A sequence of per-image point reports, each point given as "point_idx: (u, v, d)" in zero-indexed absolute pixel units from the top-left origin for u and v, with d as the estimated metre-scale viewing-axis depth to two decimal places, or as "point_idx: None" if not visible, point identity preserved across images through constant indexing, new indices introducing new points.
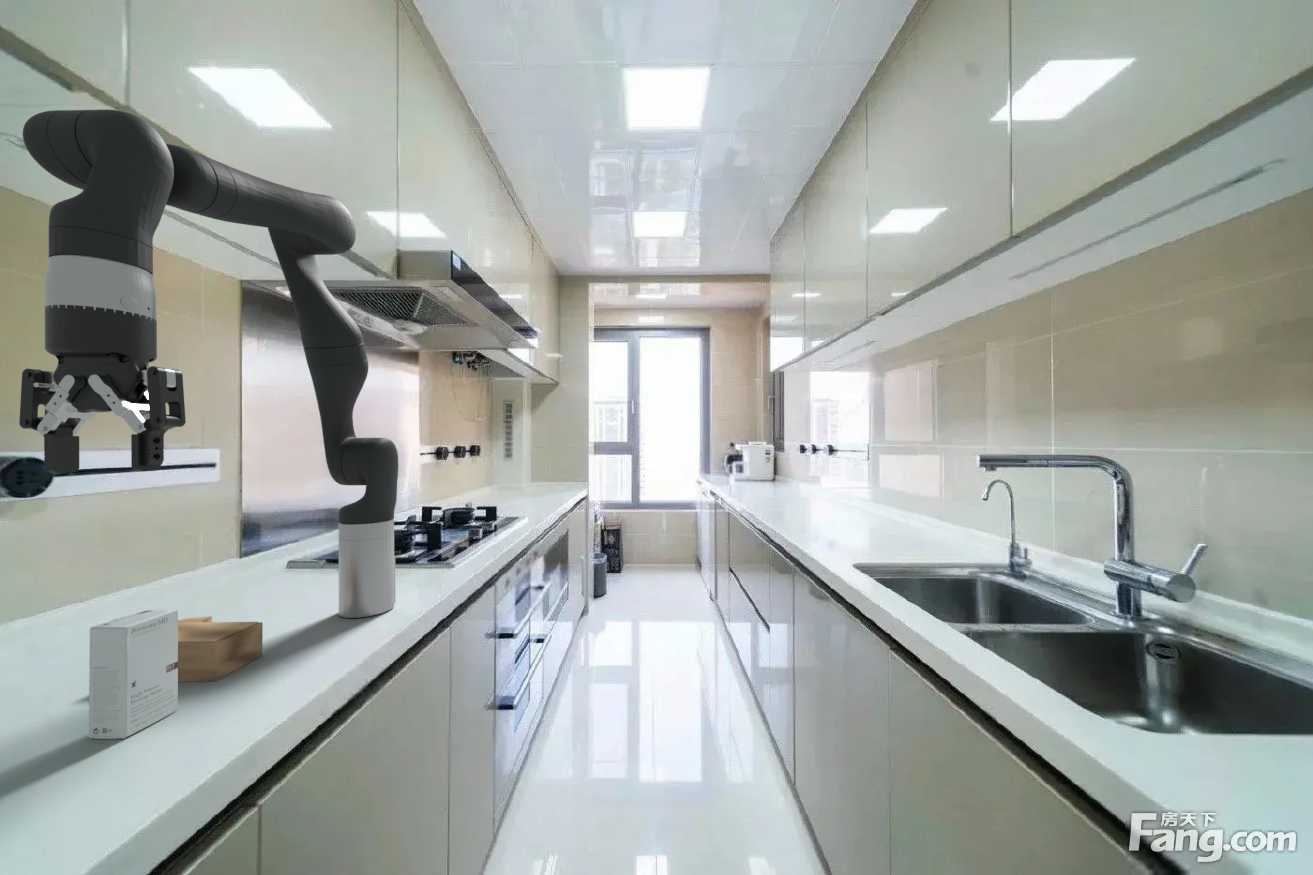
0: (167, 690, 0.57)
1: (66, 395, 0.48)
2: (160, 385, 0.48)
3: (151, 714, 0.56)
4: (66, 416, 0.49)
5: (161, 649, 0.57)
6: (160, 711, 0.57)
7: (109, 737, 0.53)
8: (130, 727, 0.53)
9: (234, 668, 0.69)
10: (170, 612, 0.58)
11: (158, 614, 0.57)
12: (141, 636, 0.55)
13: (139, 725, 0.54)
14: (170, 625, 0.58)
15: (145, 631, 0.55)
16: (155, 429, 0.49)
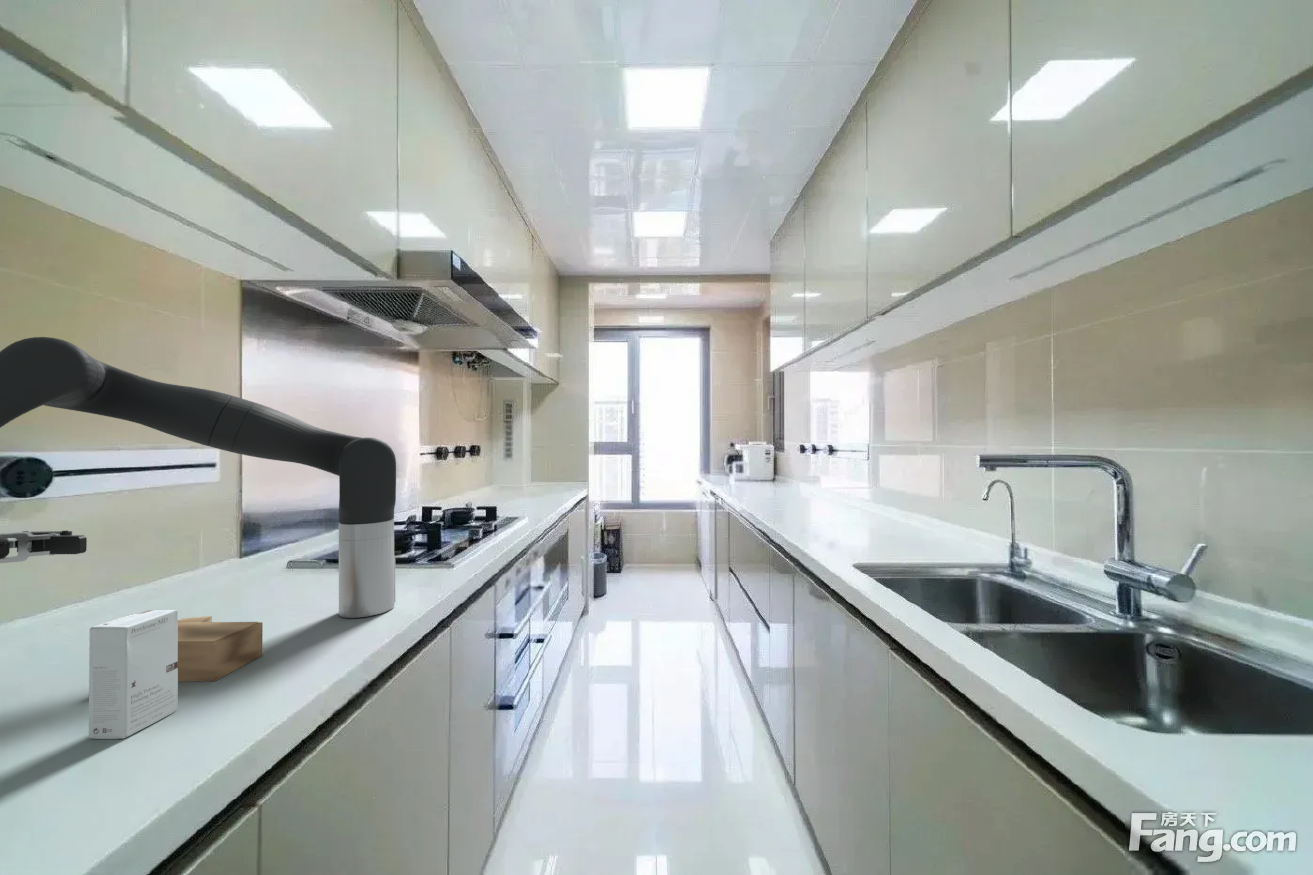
0: (167, 690, 0.57)
1: None
2: None
3: (151, 714, 0.56)
4: (25, 552, 0.59)
5: (161, 649, 0.57)
6: (160, 711, 0.57)
7: (109, 737, 0.53)
8: (130, 727, 0.53)
9: (234, 668, 0.69)
10: (169, 612, 0.58)
11: (158, 614, 0.57)
12: (141, 636, 0.55)
13: (139, 725, 0.54)
14: (170, 625, 0.58)
15: (145, 631, 0.55)
16: None
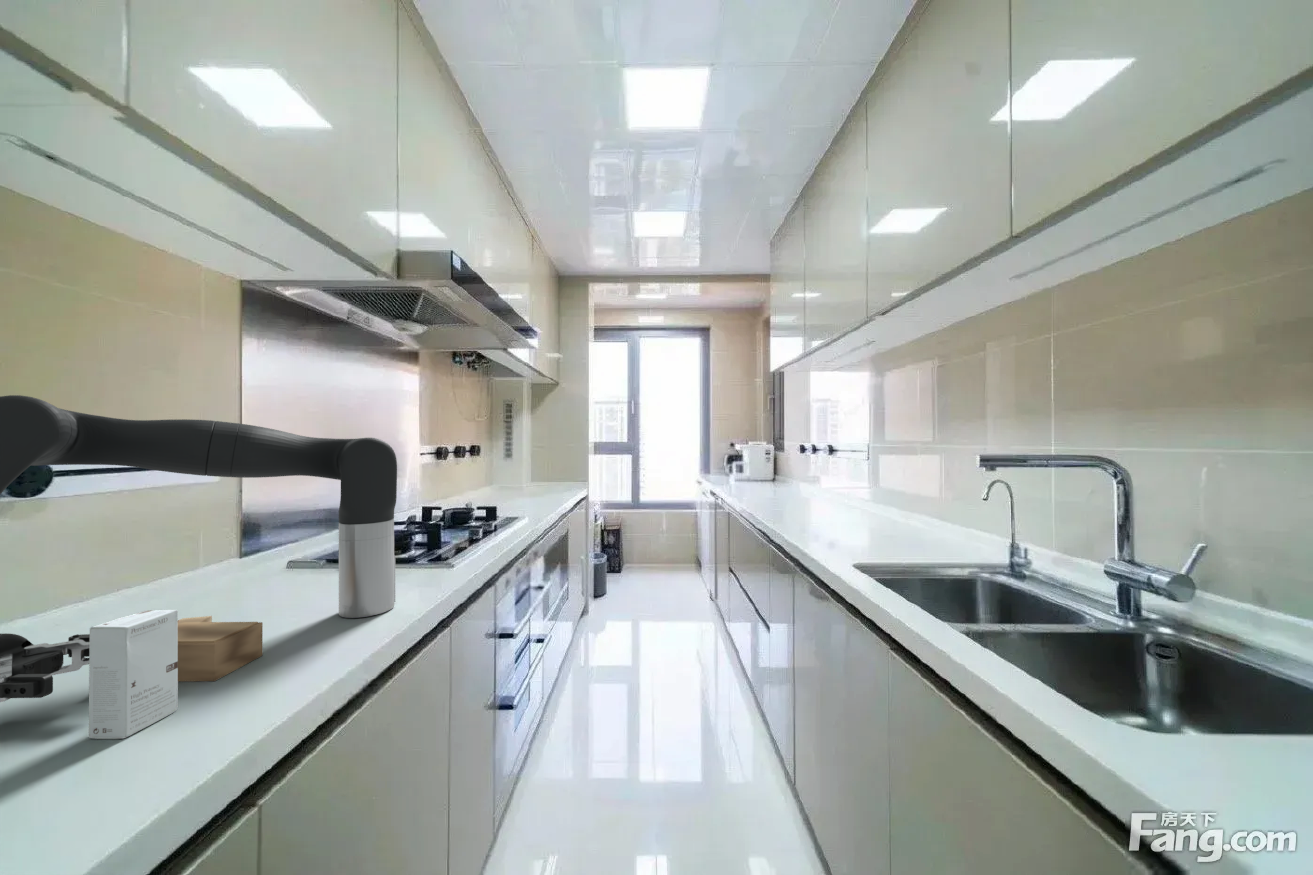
0: (167, 690, 0.57)
1: None
2: None
3: (151, 714, 0.56)
4: (78, 661, 0.59)
5: (161, 648, 0.57)
6: (160, 711, 0.57)
7: (109, 737, 0.53)
8: (130, 727, 0.53)
9: (234, 668, 0.69)
10: (169, 612, 0.58)
11: (157, 614, 0.57)
12: (141, 636, 0.55)
13: (139, 725, 0.54)
14: (170, 625, 0.58)
15: (145, 631, 0.55)
16: None
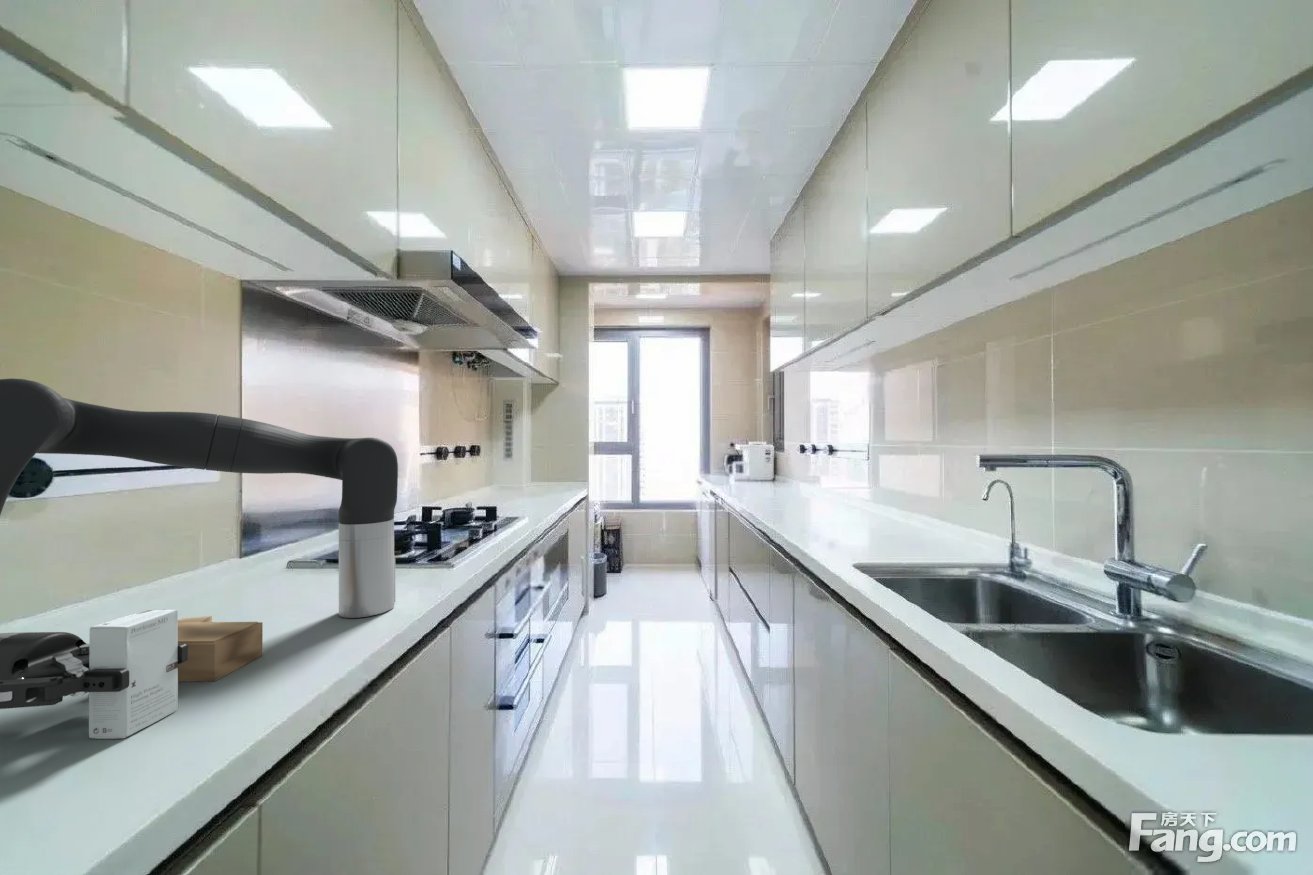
0: (167, 690, 0.57)
1: None
2: (8, 706, 0.49)
3: (151, 714, 0.56)
4: None
5: (161, 648, 0.57)
6: (160, 711, 0.57)
7: (109, 737, 0.53)
8: (130, 727, 0.53)
9: (234, 668, 0.69)
10: (169, 612, 0.58)
11: (157, 614, 0.57)
12: (141, 635, 0.55)
13: (139, 725, 0.54)
14: (170, 625, 0.58)
15: (145, 631, 0.55)
16: (70, 692, 0.51)
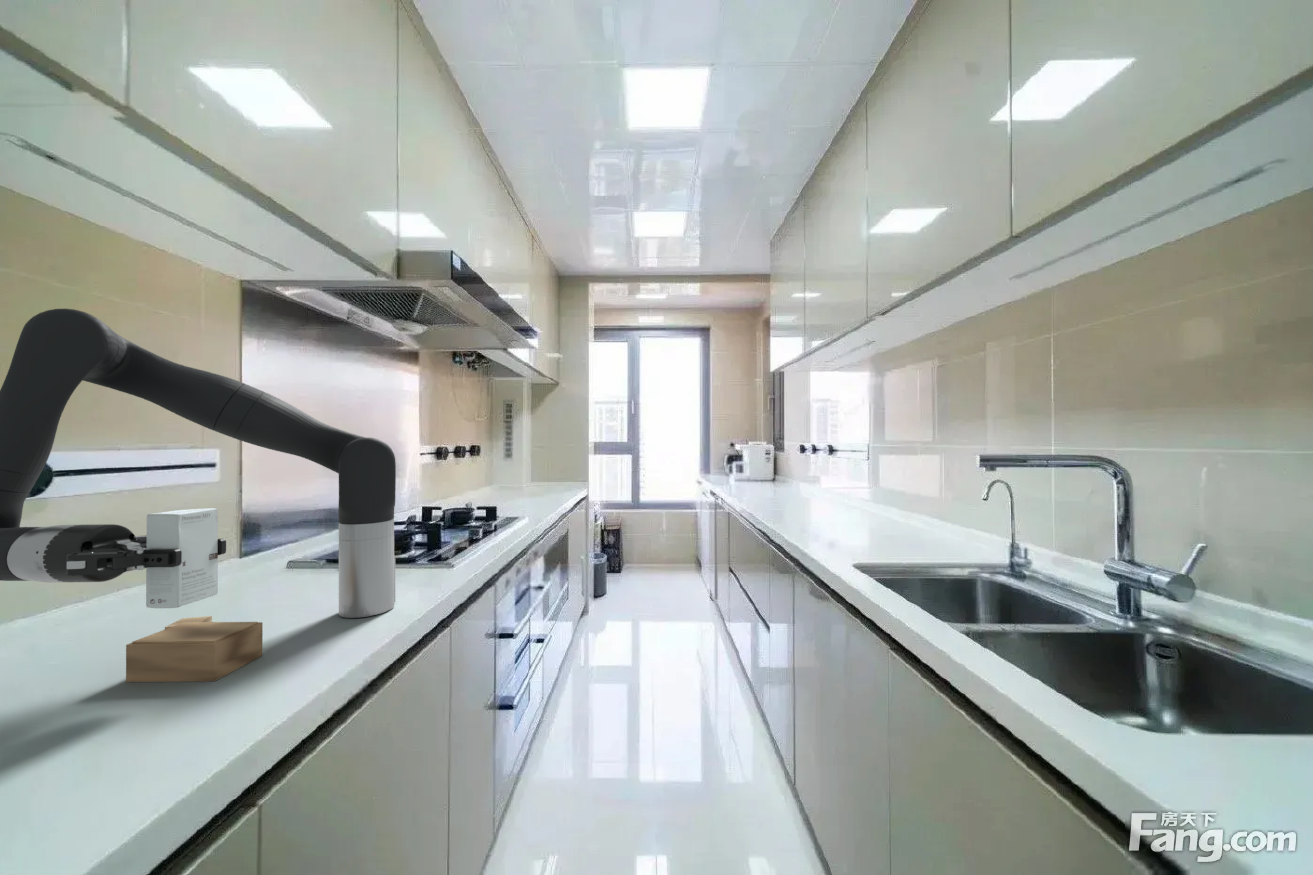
0: (209, 575, 0.67)
1: None
2: (82, 573, 0.59)
3: (197, 592, 0.65)
4: None
5: (205, 538, 0.66)
6: (204, 591, 0.66)
7: (164, 606, 0.62)
8: (181, 599, 0.63)
9: (234, 668, 0.69)
10: (211, 509, 0.68)
11: (201, 509, 0.67)
12: (189, 524, 0.64)
13: (188, 599, 0.64)
14: (211, 520, 0.68)
15: (192, 521, 0.65)
16: (133, 565, 0.61)
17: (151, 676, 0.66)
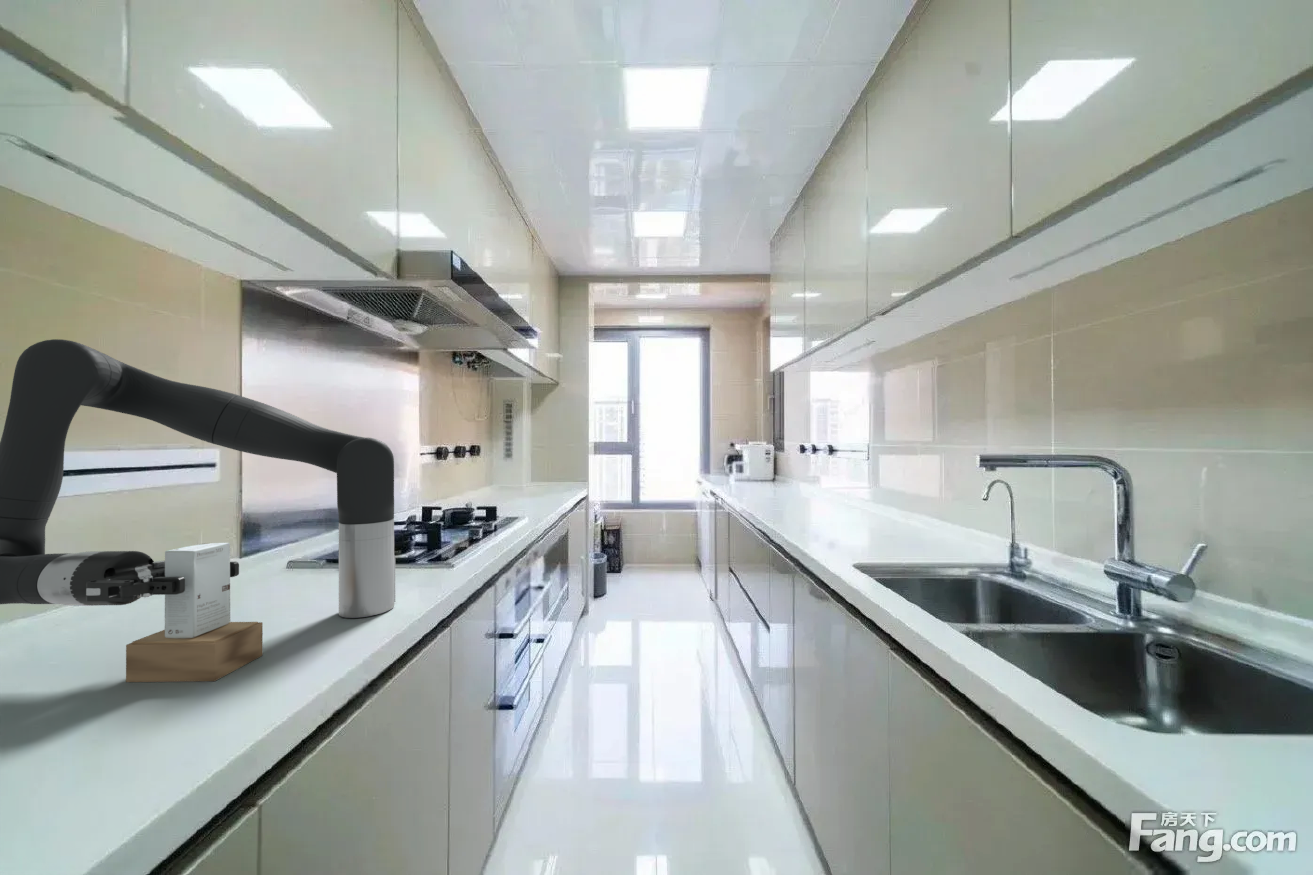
0: (222, 605, 0.72)
1: None
2: (97, 599, 0.63)
3: (211, 622, 0.70)
4: None
5: (218, 572, 0.71)
6: (218, 621, 0.71)
7: (181, 637, 0.67)
8: (197, 630, 0.68)
9: (234, 668, 0.69)
10: (224, 544, 0.73)
11: (215, 544, 0.72)
12: (204, 559, 0.69)
13: (203, 629, 0.69)
14: (224, 554, 0.72)
15: (207, 556, 0.70)
16: (139, 593, 0.64)
17: (151, 676, 0.66)
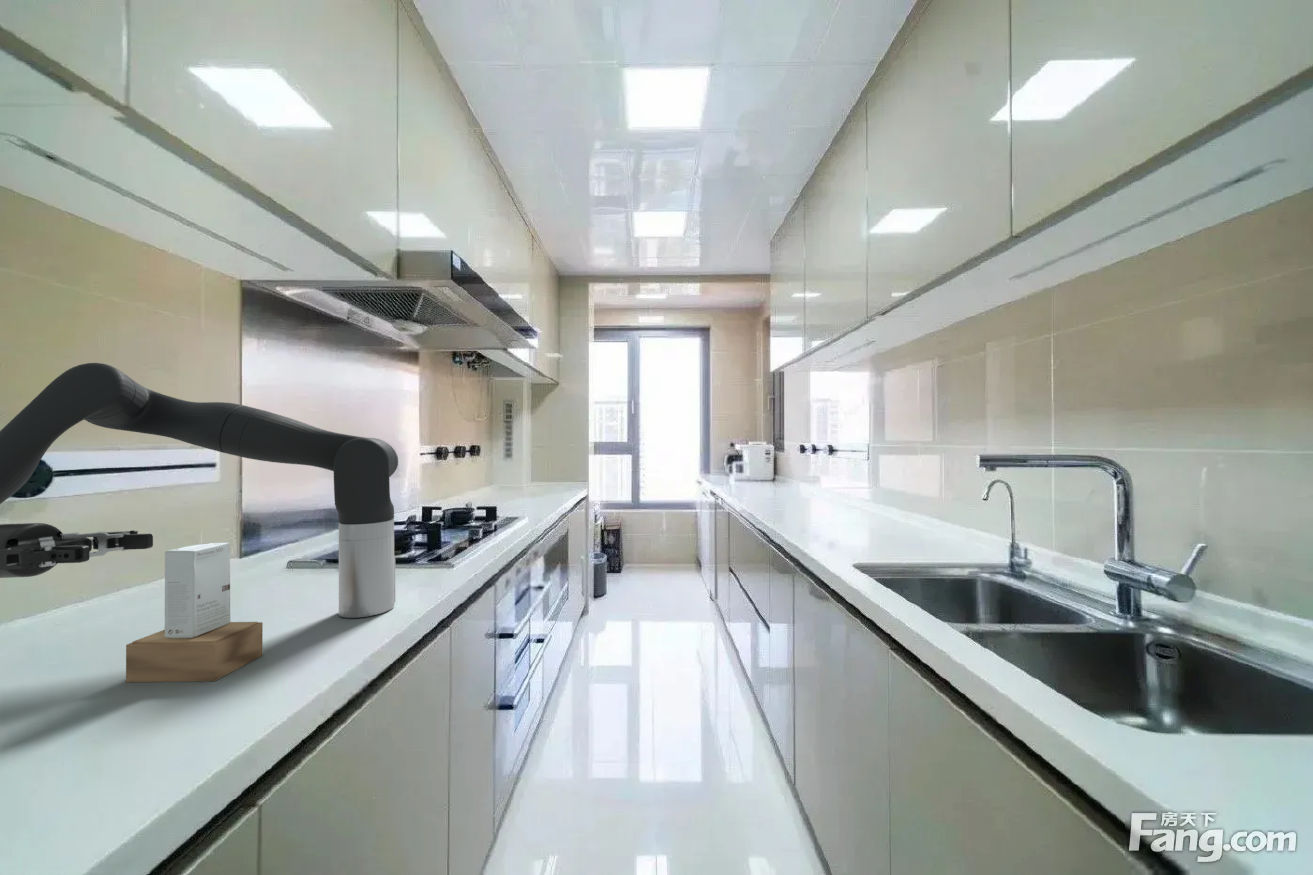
0: (222, 605, 0.72)
1: None
2: None
3: (211, 622, 0.70)
4: (103, 548, 0.73)
5: (218, 572, 0.71)
6: (218, 621, 0.71)
7: (181, 637, 0.67)
8: (197, 630, 0.68)
9: (234, 668, 0.69)
10: (224, 544, 0.73)
11: (215, 544, 0.72)
12: (204, 559, 0.69)
13: (203, 629, 0.69)
14: (224, 554, 0.72)
15: (207, 556, 0.70)
16: (40, 561, 0.64)
17: (151, 676, 0.66)
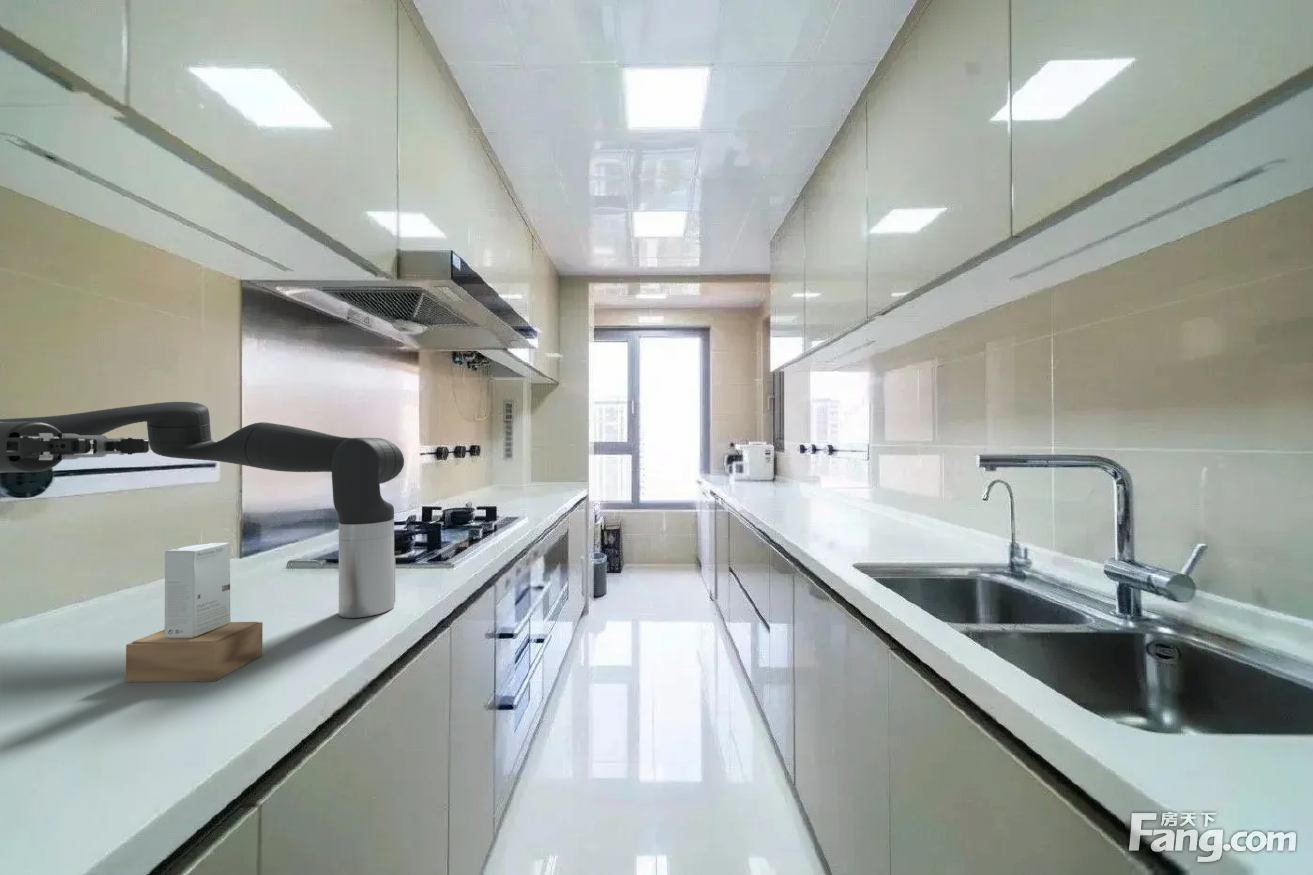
0: (222, 605, 0.72)
1: (79, 457, 0.74)
2: None
3: (211, 622, 0.70)
4: (102, 450, 0.75)
5: (218, 572, 0.71)
6: (218, 621, 0.71)
7: (181, 637, 0.67)
8: (197, 630, 0.68)
9: (234, 668, 0.69)
10: (224, 544, 0.73)
11: (215, 544, 0.72)
12: (204, 559, 0.69)
13: (203, 629, 0.69)
14: (224, 554, 0.72)
15: (207, 556, 0.70)
16: (38, 450, 0.67)
17: (151, 676, 0.66)
